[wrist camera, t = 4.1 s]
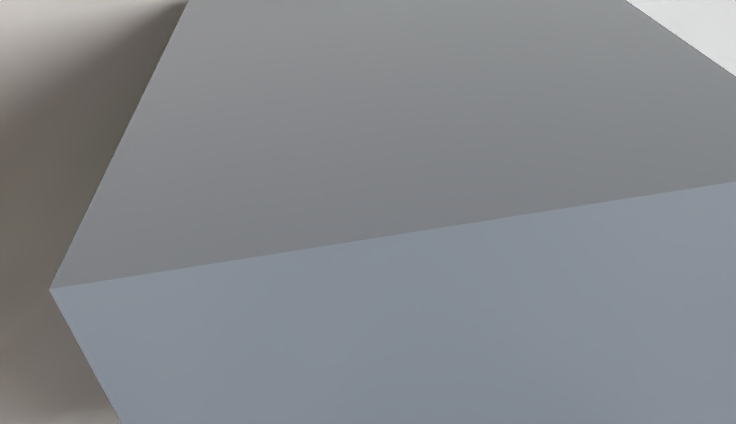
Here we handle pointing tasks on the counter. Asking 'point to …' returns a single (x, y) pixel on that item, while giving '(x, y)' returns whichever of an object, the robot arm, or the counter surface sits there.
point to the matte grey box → (416, 220)
